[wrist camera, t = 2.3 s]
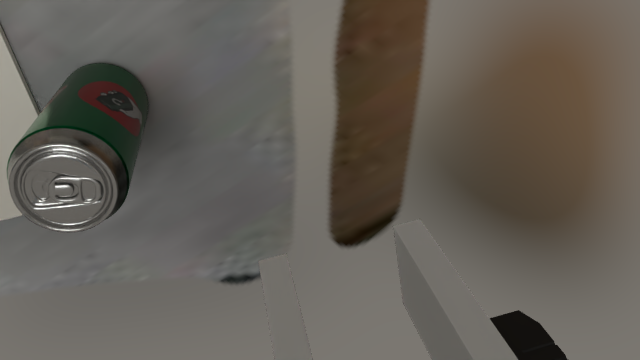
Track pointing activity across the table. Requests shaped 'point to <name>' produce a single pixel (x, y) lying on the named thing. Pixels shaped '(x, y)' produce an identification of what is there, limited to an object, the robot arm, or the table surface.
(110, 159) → the soda can
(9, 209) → the folded white napkin
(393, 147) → the table surface
